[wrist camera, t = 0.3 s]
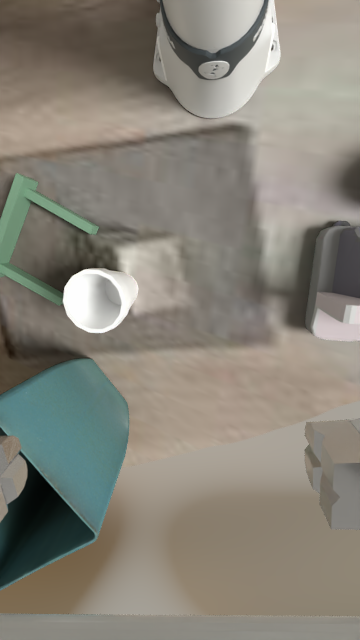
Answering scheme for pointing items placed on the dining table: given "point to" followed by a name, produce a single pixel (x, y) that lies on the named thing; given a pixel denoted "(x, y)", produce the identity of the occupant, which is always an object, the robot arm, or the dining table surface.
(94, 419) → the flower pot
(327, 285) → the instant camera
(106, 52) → the dining table surface
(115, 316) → the foam cup
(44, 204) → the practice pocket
